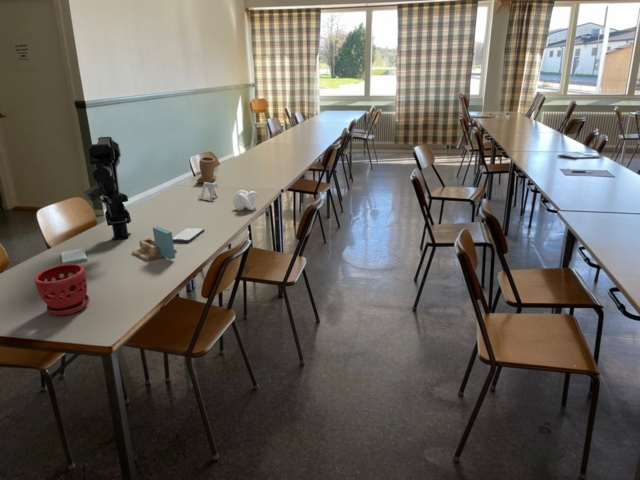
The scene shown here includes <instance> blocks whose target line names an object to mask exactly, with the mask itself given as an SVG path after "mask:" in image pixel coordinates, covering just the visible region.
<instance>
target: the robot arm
mask: <svg viewBox="0 0 640 480" xmlns="http://www.w3.org/2000/svg"><path fill="white" fill-rule="evenodd" d="M88 151H89V163H90V164H89V165H90V166H92V165H95V168H94V170H93V173H92V178H93V179H94V181H95V185H93V186H91V187H90V188H88V189H86V190H84V191H83V195H84V196H85V197H86V199H87V200H88V201H90V202H94V201H96V199H98V201H99V202H101V203H103V204H104V206H105V212H104V215H105V221H106V224H107V226H108V227H109V226H111V229H112V234H113V236H112V237H111V240H112V241H113V240H114V241H115V240H127V239H129V237H130V236H131V235H132V234H131V232H129V231H128V226H127V224H130V223H131V222H132V218H131V215H130V212H129V211H128V209H127V208H126V206H125V204H124V203H126V202H127V203H128V202H129V197H128V196H129V195H127V194H125V193H122V192H120V186H119V177H118V167H119V164H120V163H121V162H120V161H121V159H120V158H121V157H122V154H121V149H120V145H119V143H117V142H116V141H114V140H113V138H112V136H100V137H97V143H94V144H90V147H89V148H88ZM99 197H100V199H99Z"/></svg>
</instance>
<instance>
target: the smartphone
mask: <svg viewBox="0 0 640 480" xmlns="http://www.w3.org/2000/svg"><path fill="white" fill-rule="evenodd" d="M204 232H205V228H199V227H198V228H196V227H194V228H193V227H186V228H185V229H183V230H182V231H180V232H178V233H177V234H175V235H174V236H172V238H173V242H179V244H189V242H190V243H192V242H193V241H194V240H195V239H197V238H198V237H199V236H200V234H201V235H202V234H203V233H204ZM196 237H197V238H196ZM192 240H193V241H192Z"/></svg>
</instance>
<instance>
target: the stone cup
mask: <svg viewBox="0 0 640 480" xmlns="http://www.w3.org/2000/svg"><path fill="white" fill-rule="evenodd" d="M198 161H199V162H198V163H199V165H198V166H199V170H200V171H199V172H200V174H201V176H200V177H198V178H197V179H196V182H197V183H203V184H204V182H207V183H212V182H213V181H215V179H216V178H217V175H215V174H214V172H215V168H216V159H215V158H214V157H212V156H202V157H200V159H199V160H198Z"/></svg>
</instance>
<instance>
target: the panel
mask: <svg viewBox="0 0 640 480" xmlns="http://www.w3.org/2000/svg"><path fill="white" fill-rule="evenodd" d="M152 231H153V239H155V246H156V247H158V252H159V254H160V255H162V256H163V257H165V258H166V259H168V260H172V259H176V252H174V249H175V246H174V243H173V233H172V232H173V231H169V230H167V229H165V228H162V227H160V226H155V227H152Z"/></svg>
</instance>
